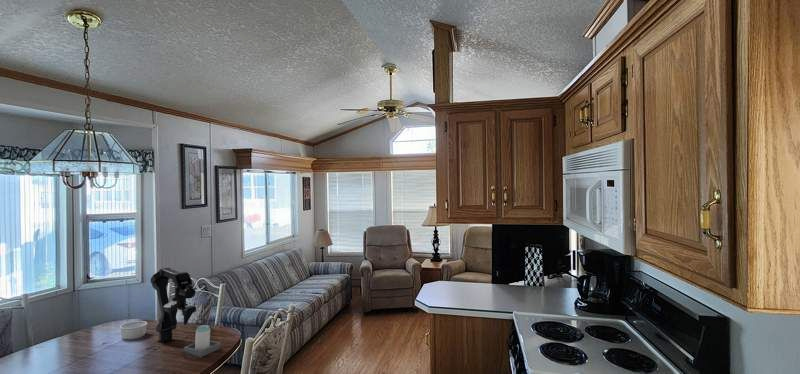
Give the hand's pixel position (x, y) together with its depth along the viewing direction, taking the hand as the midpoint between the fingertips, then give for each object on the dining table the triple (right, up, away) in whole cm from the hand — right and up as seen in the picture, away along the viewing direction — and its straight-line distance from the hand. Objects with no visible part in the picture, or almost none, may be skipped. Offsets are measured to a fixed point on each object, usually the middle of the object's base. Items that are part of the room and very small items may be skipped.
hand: (179, 323), depth 207 cm
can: (+15, -13, -4) cm, 20 cm away
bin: (+15, -13, -4) cm, 21 cm away
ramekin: (-35, -13, +13) cm, 39 cm away
